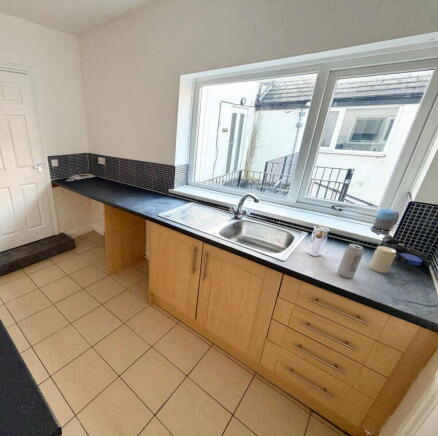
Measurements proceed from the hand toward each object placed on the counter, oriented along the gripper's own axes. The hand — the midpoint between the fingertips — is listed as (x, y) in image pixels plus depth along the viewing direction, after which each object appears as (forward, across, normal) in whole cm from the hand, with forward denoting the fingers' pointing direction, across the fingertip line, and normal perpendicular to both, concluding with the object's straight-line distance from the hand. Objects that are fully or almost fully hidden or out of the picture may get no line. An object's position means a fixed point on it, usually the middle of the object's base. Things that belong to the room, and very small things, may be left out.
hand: (417, 263), depth 112 cm
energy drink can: (+12, +31, -6) cm, 34 cm away
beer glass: (-7, +38, -6) cm, 40 cm away
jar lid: (-5, 0, 0) cm, 5 cm away
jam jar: (0, +13, -6) cm, 14 cm away
